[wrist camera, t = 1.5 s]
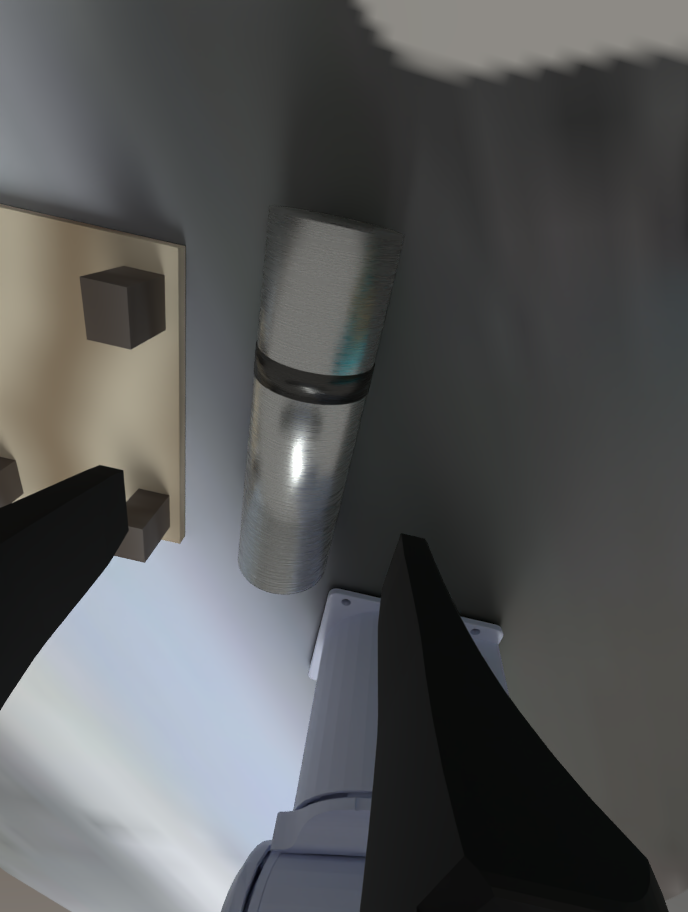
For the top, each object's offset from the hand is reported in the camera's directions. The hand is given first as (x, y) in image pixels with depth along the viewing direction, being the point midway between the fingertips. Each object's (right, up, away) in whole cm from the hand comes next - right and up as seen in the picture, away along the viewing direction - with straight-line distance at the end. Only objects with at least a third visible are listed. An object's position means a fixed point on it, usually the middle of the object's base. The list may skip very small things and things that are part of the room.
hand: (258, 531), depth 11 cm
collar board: (-10, +5, +8) cm, 13 cm away
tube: (+1, +4, +7) cm, 8 cm away
